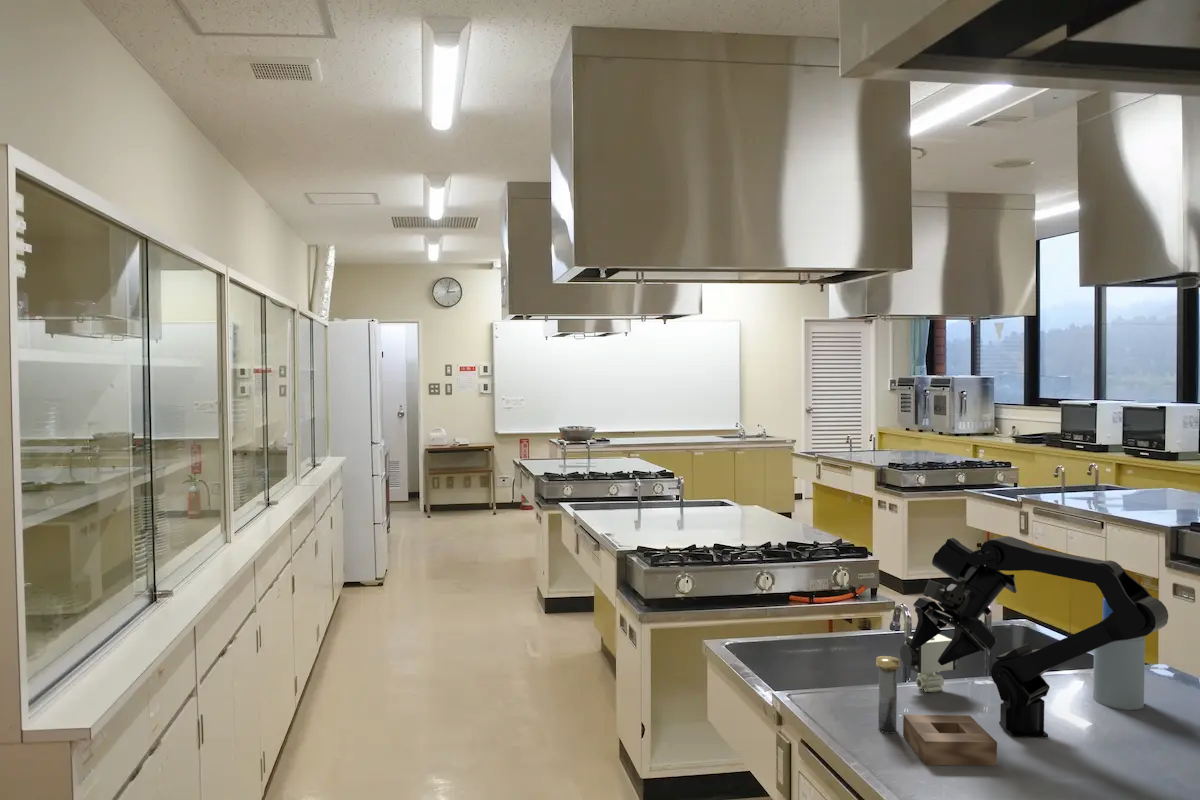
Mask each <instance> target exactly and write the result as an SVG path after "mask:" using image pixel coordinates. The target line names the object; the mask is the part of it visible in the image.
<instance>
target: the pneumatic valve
mask: <svg viewBox="0 0 1200 800" xmlns="http://www.w3.org/2000/svg"><path fill="white" fill-rule="evenodd" d="M912 638H913V636H906V637H905V638H904V639H905V641H904V644H903V645H901V646H900V649H899V657H900V661H901V662H902V664H904V667H906V668H907V669H910V670H911V671H914V672H915V673H917V677H916V680H915V683H916V686H917V688H918V689H919V690H923V689H924V690H923V691H924V693H927V692H931V693H940V692H939V691H941V692H942V691H943V686H944V685H945V680H944V678H943V676H942V675H941V674H939V673H941V672H943V671H953V670H956V666H957V662H959V661H960V659H961V658H959V659H957V660H954V661H952V662H949V663H947V664H944V665H940V664H939V663H938V659H939V658H940V656H941V654H942V653H943V652H944V650H945V649H946V647H947V646H948V645H949V643H950V642H951V640H952V639H953V638H952V637H950V636H947V635H945V634H943V633H941V634H940V633H939V634H938V635H936V636H935V637H933V638H932V639H930V640H929V641H928V642H926V643H925V644H923V645H922V646H920V647H919V648H917V649H916V650H912V649H911V648H910V647H909V646H910V643H911V640H912ZM937 673H938V674H937Z"/></svg>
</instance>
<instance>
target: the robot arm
mask: <svg viewBox="0 0 1200 800" xmlns="http://www.w3.org/2000/svg"><path fill="white" fill-rule="evenodd" d="M931 564H932V566H933V567H935V568H936V569H937V570H939V571H941V572H942V573H943V574H945V575H947V576H948V577H950V578H951V579H953V580H954V581H956V582H957V583H958V582H962V581H965V583H964V584H963V585H962V586H961V585H960V586H959V585H958V584H954V583H951V584H949V585H948V586H947V585H944V584H942V583H939V582H936V581H933V580H931V579H928V582H927V584H926V586H925V588H924V591H923V594H922V595H923V596H924V597H923V596H922V597H918V598H917V600H916V601H915V602H914V603H913V605H912V606H913V607H914V612H915V613H916V616H917V623H916V626H915V630H914V632H913V636H912V637H913V638H912V640H911V643H910V646H909V647H910V648H911V649H912V650H916V649H917V648H919V647H920V646H922V645H923V644H925V643H926V642H928V641H929V640H930V639H932V638H933V637H935V636H936V635H938V634H940V633H942V632H943V631H942V630H941V629H943V628H945V627H946V626H947V625H948V626H951V627H952V628H954V631H953V632H954V634H953V638H952V640H951V642H950V643H949V645H948V646H947V647H946V649H945V650H944V652H943V653H942V654H941V656H940V658H939V659H938V663H939V664H940V665H944V664H947V663H949V662H952V661H954V660H957V659H959V658H960V659H961V658H964V657H966V656H969V655H973V654H975V653H979V652H980V653H983V652H984V651H985V650H987V651H989V652H990V651H991V650H993V648H995V645H997V635H995V633H994V632H993V631H992V630H991V629H990V628H989V627H988V626H987V624H985V623H984V621H982V620H981V619H979V618H981V616H982V615H983V614H984V615H986V616H989V615H990V614H991V613H992V611H991V609H990V608H989V606H991V605H992V603H993V602H994V601H995V599H997V597H998V596H999V594H1000V593H1001V592H1002V591H1003V590H1004V588H1005V589H1007V590H1008V591H1009V592H1012V593H1014V594H1016V593H1017V592H1018V590H1017V586H1016V578H1015V574H1014V573H1011V574H1007V573H1004V572H1002V571H1005V572H1006V571H1007V572H1017V571H1019V572H1020V571H1021V572H1022V571H1031V572H1038V573H1042V574H1047V575H1051V576H1057V577H1062V578H1067V579H1070V580H1071V579H1072V580H1077V581H1081V582H1087V583H1092V584H1094V585H1096V587H1098V590H1100V592H1101V594H1102V596H1103V598H1105V600H1106V602H1107V604H1108V605H1109V607H1110V608H1111V609H1112V611H1113V612H1112V613H1111V614H1109V615H1108V616H1107V617H1106V618H1105V619H1103V620H1100V622H1098V623H1095V624H1094V625H1091V626H1089V627H1087V628H1085V629H1082V630H1081V631H1078V632H1076V633H1073V634H1071V635H1069V636H1066V637H1064V638H1063V639H1059V640H1057V641H1054V642H1053V643H1051V644H1050V643H1049V644H1048V645H1046V646H1044V647H1042V648H1037V649H1033V648H1032V647H1031V645H1030V643H1025V644H1023V645H1021V646H1018V647H1016V648H1014V649H1011V650H1010V651H1007V652H1005V653H1002V654H1000V655H998V656H996V657H995V658H996V659H997V660H996V661H994V662H993V663H992V665H991V667H990V668H991V669H990V676H991V678H992V681H993V682H994V684H995V686H996V687H997V688H996V689H997V691H998V692H997V693H998V695H999V697H1000V700H1001V701H1002V702H1001V703H1000V708H999V709H1000V712H999V713H1000V714H999V715H1000V718H999V721H998V723H999V725H1000V726H1001V728H1003V729H1004V730H1005V731H1006V732H1007V733H1008V734H1009V735H1010V736H1011V737H1014V738H1049V734H1048V733H1047V731H1046V730H1045V700H1044V699H1042V698H1043V697H1047V695H1048V693H1049V690H1050V689H1051V688H1050V684H1048V682H1047V681H1046V680H1045V679H1044V678H1043V677H1042V675H1043V674H1045V673H1046V672H1047V671H1049V670H1050V669H1051V668H1054V667H1056V666H1058V665H1061V664H1063V663H1065V662H1068V661H1070V660H1073V659H1075V658H1078V657H1080V656H1082V655H1084V654H1086V653H1089V652H1091V651H1094V649H1096V648H1099V647H1101V646H1104V645H1106V644H1108V643H1111V642H1116V641H1124V640H1129V639H1134V638H1139V637H1147V636H1149V635H1150V634H1152V633H1154V632H1156V631H1158V630H1161V629H1162V628H1164V627H1166V625H1167V624H1168V621H1169V611H1168V609H1167V607H1166V605H1165V604H1164V602H1162V601H1161V600H1159V599H1158V598H1156V597H1153V596H1152V595H1151V593H1150V592H1149V591H1148V590H1147V589H1146V587H1144V586H1143V585H1142V584H1141V583H1140V582H1139V581H1137V580H1136V579H1134V578H1133V577H1132V576H1131V575H1130V574H1128V572H1127V571H1126V570H1125V569H1124V568H1123V567H1122V565H1120V564H1119V563H1118V562H1116V561H1115V560H1110V559H1109V560H1103V559H1096V558H1092V557H1087V556H1080V555H1075V554H1069V553H1065V552H1064V553H1063V552H1058V551H1053V550H1047V549H1042V548H1038V547H1036V546H1034V545H1033V544H1031V543H1029V542H1027V541H1024V540H1022V539H1019V538H1016V537H1014V536H1009V535H1003V536H1000V537H996V538H991V539H988V540H986V541H985V542H983V543H982V545H981V547H980V549H978V550H972V549H970V548H969V547H967V546H965V545H964V544H962V543H961V542H960V541H959V540H958V539H956V538H955V537H952V538H947V540H946V541H945V543H944V544H943V545H941V547H940V548H939V549H938V551H936V552H935V553H934V555H933V557H932V560H931ZM928 597H929V598H928ZM930 598H931V599H930ZM936 601H937V602H936Z"/></svg>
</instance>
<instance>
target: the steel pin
mask: <svg viewBox="0 0 1200 800" xmlns="http://www.w3.org/2000/svg"><path fill="white" fill-rule="evenodd" d="M875 659H876V660H875V666H876V667H878V730H879V732H881V731H883V732H882V733H884V732H888V733H887V734H892V733H891V732H895V733H896V732H897V717H898V716H897V715H898V713H897V712H898V711H897V708H898V707H897V704H898V702H897V701H898V699H897V698H898V695H897V694H898V692H897V691H898V670H899V669H901V668H900V667H901V659H900V658H897V657H895V656H889V655H880V656H877V657H876V658H875ZM889 732H890V733H889Z"/></svg>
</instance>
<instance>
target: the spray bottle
mask: <svg viewBox="0 0 1200 800" xmlns="http://www.w3.org/2000/svg"><path fill="white" fill-rule="evenodd" d="M1112 612H1113V611H1112V609H1111V608H1110V607H1109V605H1108V604H1107V602H1106V600H1105V598H1104V597H1103V598H1102V617H1101V618H1102V620H1103V619H1105V618H1106V617H1107V616H1108V615H1109V614H1111V613H1112ZM1102 620H1101V621H1102ZM1145 661H1146V636H1144V637H1139V638H1134V639H1129V640H1124V641H1116V642H1111V643H1108V644H1106V645H1104V646H1101V647H1099V648H1096V649H1094V650H1093V675H1092V676H1093V683H1092V684H1093V687H1092V688H1093V691H1092V699H1093V700H1094V701H1095V702H1096V703H1098V704H1100V705H1103V706H1106V707H1109V708H1114V709H1118V710H1119V709H1120V710H1127V711H1128V710H1132V711H1134V709H1135V710H1140V708H1141V709H1143V708H1144V706H1145V674H1146V673H1145V667H1146V666H1145V663H1146V662H1145Z"/></svg>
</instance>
